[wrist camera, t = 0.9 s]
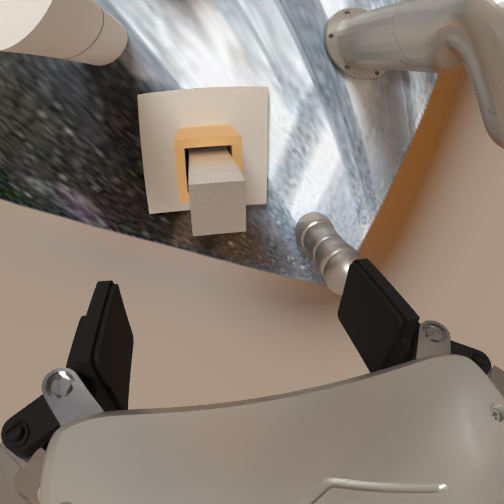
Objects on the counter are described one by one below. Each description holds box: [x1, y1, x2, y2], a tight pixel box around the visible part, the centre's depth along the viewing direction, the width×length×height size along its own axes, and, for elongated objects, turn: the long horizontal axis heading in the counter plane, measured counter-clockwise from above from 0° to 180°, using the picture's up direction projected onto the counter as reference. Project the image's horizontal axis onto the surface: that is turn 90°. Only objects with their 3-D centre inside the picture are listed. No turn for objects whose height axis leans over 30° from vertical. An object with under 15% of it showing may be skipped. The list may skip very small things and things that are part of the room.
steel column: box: [188, 146, 246, 236], centre depth 31 cm, size 4×4×22 cm
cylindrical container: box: [0, 0, 128, 66], centre depth 19 cm, size 7×7×25 cm
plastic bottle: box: [295, 212, 365, 295], centre depth 43 cm, size 6×7×20 cm
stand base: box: [137, 87, 268, 214], centre depth 36 cm, size 18×18×13 cm
